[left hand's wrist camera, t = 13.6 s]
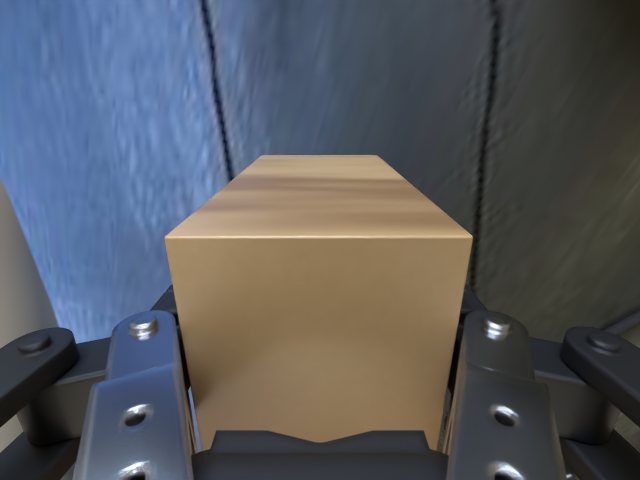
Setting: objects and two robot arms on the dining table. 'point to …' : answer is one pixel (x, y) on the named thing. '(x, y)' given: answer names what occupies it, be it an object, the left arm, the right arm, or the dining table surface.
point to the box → (318, 300)
